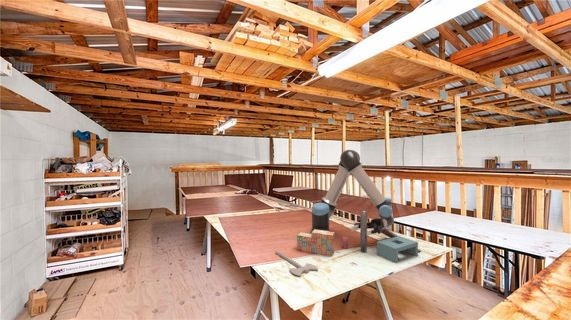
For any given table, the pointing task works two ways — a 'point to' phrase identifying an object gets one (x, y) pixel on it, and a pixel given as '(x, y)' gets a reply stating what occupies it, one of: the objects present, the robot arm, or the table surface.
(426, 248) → the table surface
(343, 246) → the short pin
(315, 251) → the stack of blocks
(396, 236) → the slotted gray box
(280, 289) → the table surface
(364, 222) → the long pin
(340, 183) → the robot arm
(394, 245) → the bridge
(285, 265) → the table surface
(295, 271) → the axe
